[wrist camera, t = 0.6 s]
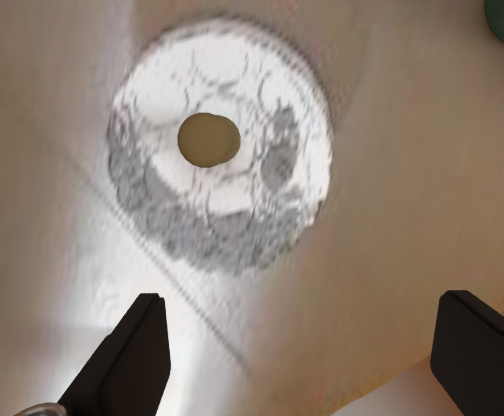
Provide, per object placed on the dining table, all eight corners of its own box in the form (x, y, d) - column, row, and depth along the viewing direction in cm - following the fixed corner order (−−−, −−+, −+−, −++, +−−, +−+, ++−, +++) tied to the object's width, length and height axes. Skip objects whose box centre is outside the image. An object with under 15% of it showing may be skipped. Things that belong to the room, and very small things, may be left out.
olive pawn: (190, 159, 38) (165, 168, 28) (196, 111, 37) (172, 100, 26) (236, 167, 38) (229, 178, 28) (244, 119, 37) (239, 112, 26)
